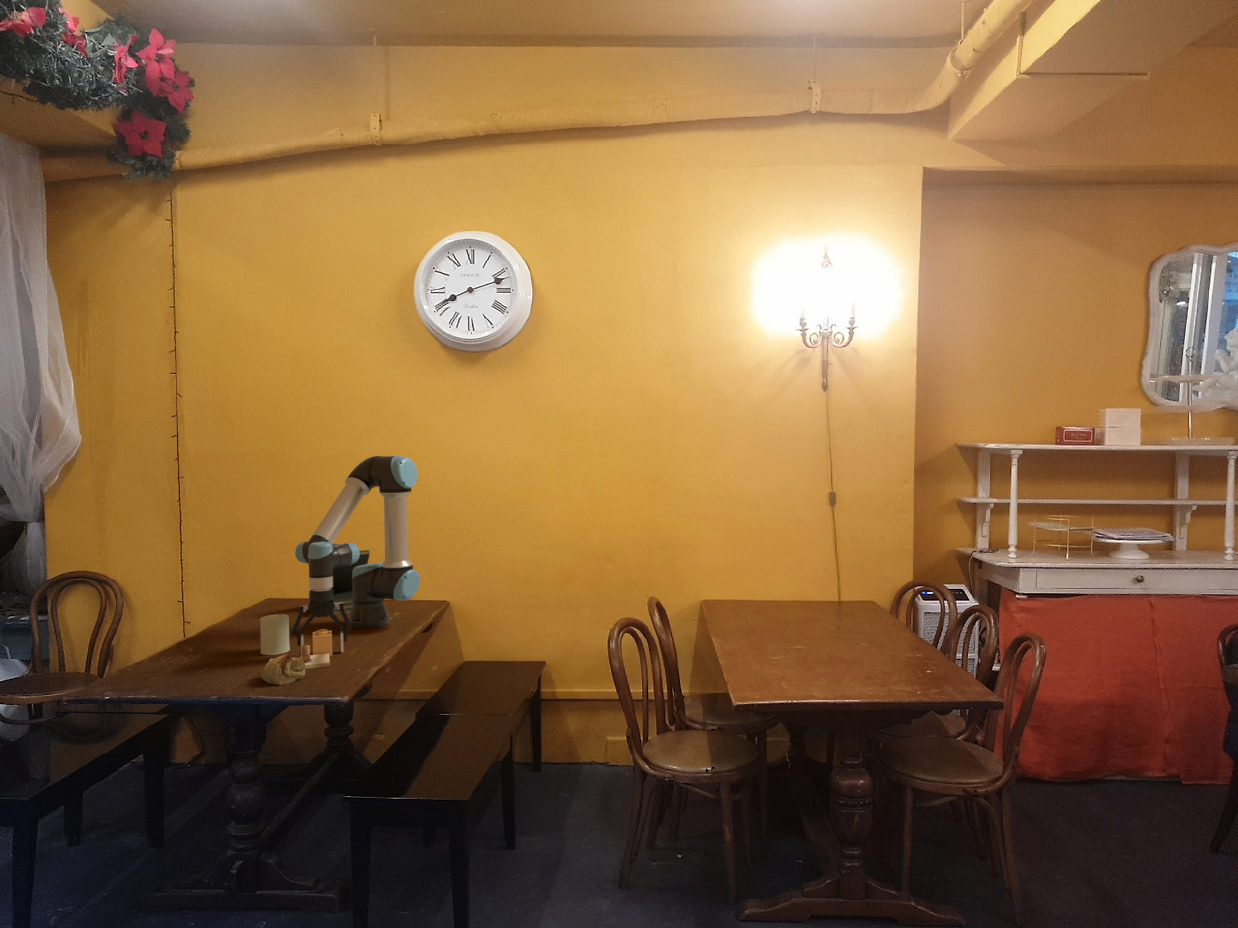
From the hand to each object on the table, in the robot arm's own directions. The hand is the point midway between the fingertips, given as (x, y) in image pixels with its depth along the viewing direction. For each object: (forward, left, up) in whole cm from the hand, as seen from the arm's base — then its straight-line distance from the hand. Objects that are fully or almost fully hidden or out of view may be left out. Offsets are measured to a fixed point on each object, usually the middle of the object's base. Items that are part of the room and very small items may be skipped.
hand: (322, 653), depth 267 cm
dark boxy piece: (-8, -68, -1) cm, 69 cm away
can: (+15, -10, -1) cm, 18 cm away
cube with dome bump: (0, 0, 0) cm, 0 cm away
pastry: (+11, +22, -1) cm, 25 cm away
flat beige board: (+7, +9, 0) cm, 12 cm away
